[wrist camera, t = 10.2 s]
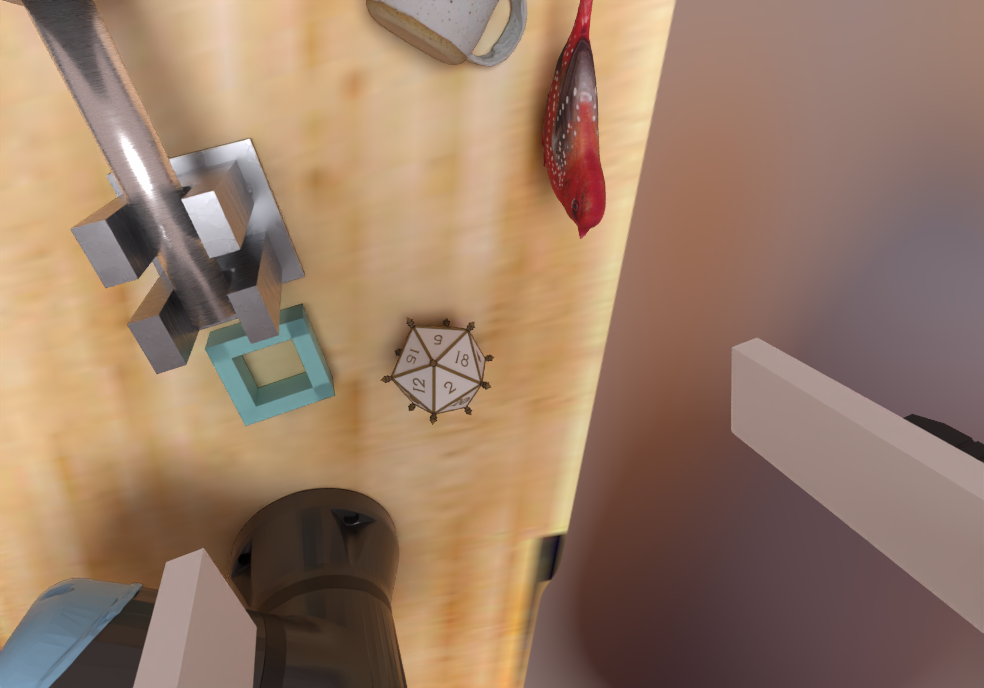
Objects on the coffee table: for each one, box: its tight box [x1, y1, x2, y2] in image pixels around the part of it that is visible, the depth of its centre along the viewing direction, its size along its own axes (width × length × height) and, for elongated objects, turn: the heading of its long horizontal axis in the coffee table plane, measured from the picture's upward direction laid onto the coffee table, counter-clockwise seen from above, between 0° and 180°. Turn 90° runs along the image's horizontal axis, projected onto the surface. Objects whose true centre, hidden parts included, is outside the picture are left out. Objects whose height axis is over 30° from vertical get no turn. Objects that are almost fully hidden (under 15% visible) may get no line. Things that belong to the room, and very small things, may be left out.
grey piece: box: [3, 0, 236, 327], centre depth 27 cm, size 19×4×9 cm, turn 12°
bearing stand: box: [71, 138, 305, 374], centre depth 33 cm, size 10×9×13 cm
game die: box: [381, 318, 494, 425], centre depth 45 cm, size 9×8×10 cm
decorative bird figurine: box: [542, 0, 606, 239], centre depth 38 cm, size 3×18×10 cm, turn 178°
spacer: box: [205, 304, 335, 426], centre depth 43 cm, size 3×7×7 cm
